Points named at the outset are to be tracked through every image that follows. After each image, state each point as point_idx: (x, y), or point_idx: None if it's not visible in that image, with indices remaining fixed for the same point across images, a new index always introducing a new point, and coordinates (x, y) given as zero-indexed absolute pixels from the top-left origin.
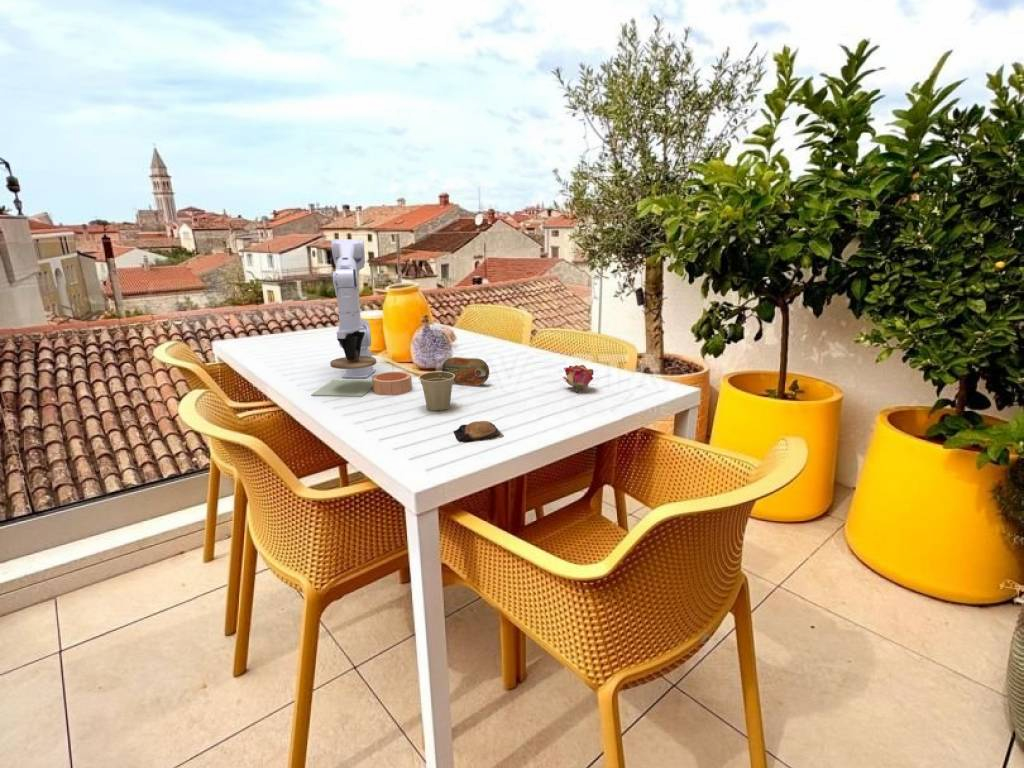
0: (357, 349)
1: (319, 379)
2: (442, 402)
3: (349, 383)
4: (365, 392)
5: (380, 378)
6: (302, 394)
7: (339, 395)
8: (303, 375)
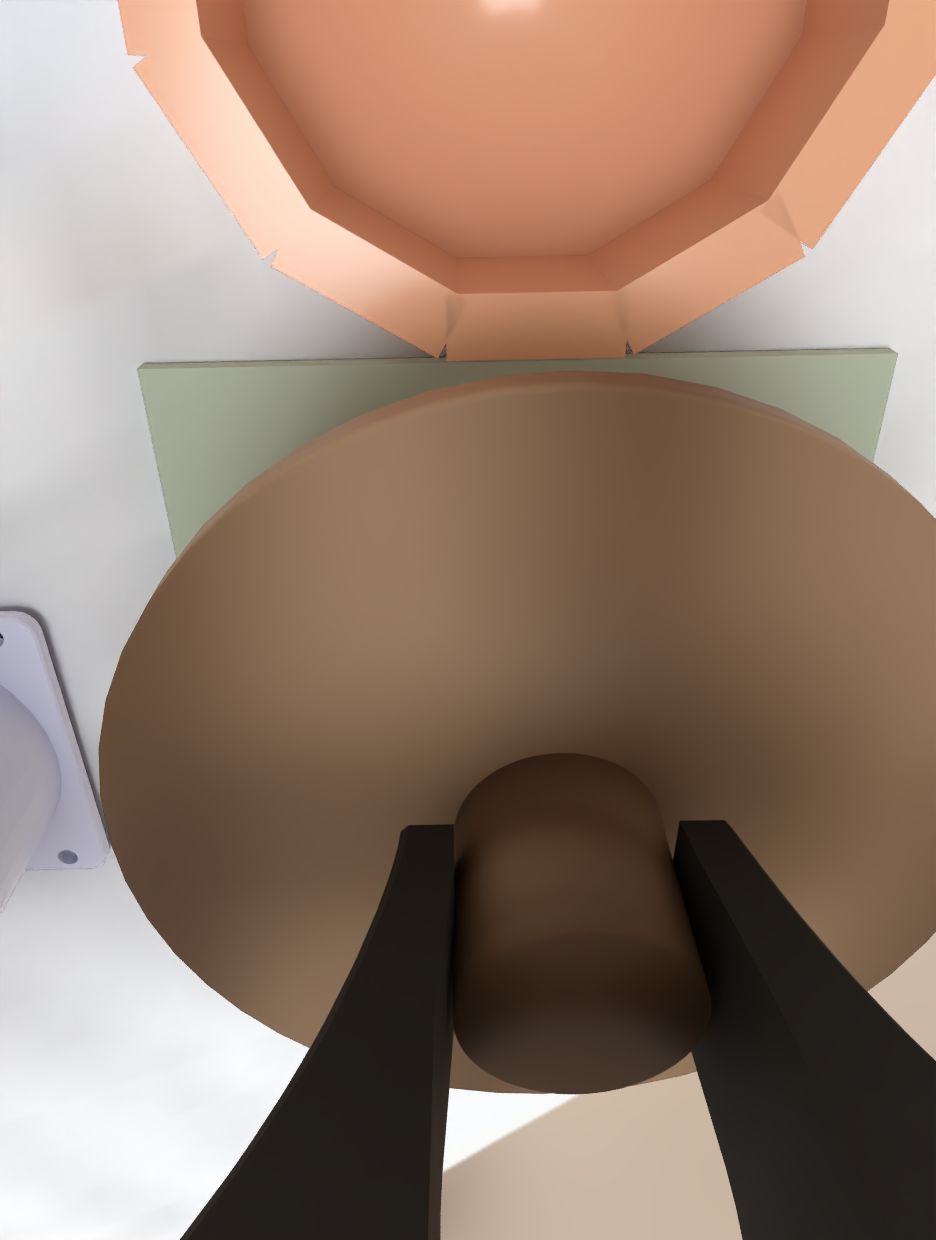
0: (443, 981)
1: (218, 1001)
2: None
3: None
4: (756, 360)
5: (417, 253)
6: None
7: None
8: (130, 1134)
